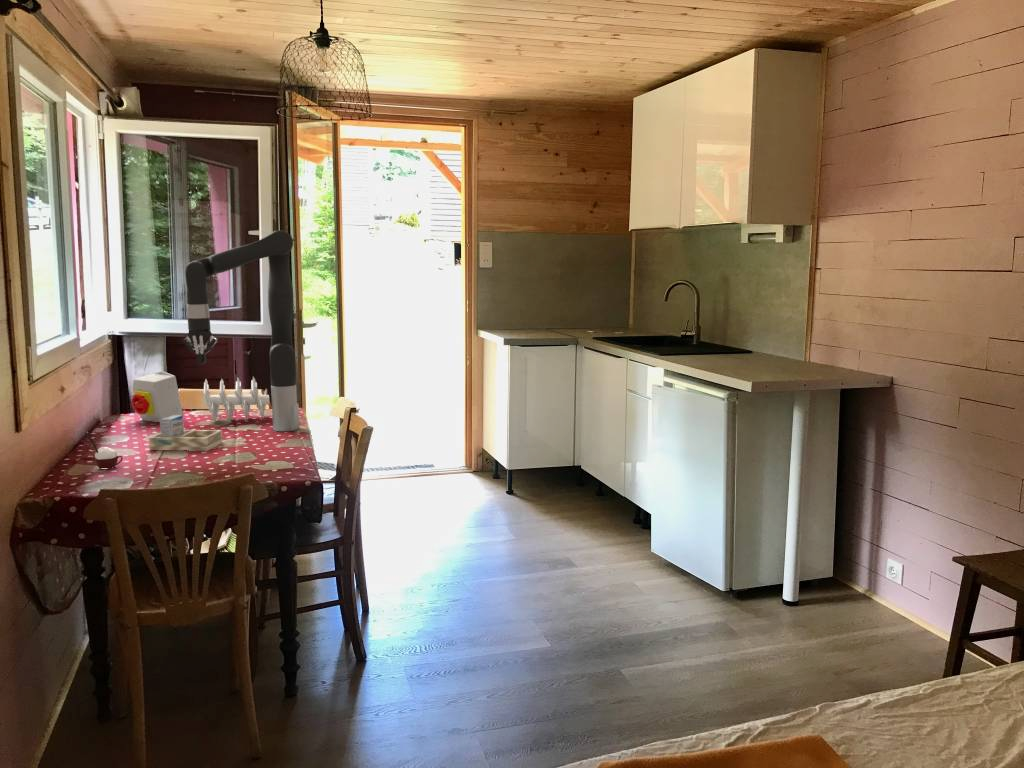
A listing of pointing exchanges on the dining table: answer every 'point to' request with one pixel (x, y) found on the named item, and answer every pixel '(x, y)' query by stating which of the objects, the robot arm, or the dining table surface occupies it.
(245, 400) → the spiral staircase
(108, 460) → the cocoa
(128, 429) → the dining table surface
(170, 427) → the medicine box
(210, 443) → the rack
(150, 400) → the electrical switch box
